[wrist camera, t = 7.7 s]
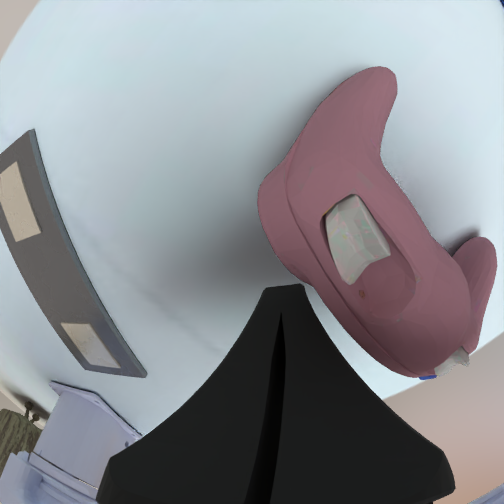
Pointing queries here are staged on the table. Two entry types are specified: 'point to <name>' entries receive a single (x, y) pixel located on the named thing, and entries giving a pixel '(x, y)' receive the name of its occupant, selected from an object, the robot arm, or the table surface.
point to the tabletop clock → (17, 434)
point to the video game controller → (373, 239)
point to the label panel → (56, 264)
